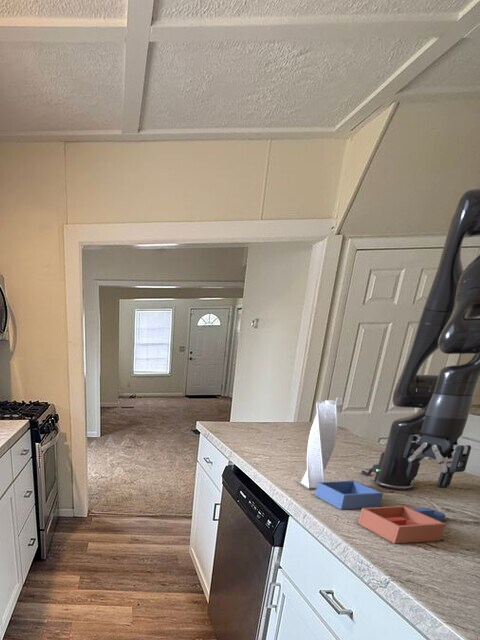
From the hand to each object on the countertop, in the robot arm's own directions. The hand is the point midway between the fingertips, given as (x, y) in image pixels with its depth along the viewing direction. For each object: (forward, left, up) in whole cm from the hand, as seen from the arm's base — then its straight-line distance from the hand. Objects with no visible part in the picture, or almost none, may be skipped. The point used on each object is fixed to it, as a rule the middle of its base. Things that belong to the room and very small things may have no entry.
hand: (425, 482), depth 98 cm
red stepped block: (+5, -10, -10) cm, 15 cm away
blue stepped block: (0, +3, -10) cm, 11 cm away
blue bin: (-15, -7, -10) cm, 20 cm away
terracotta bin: (+5, -9, -10) cm, 15 cm away
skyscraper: (-29, -8, -10) cm, 32 cm away
